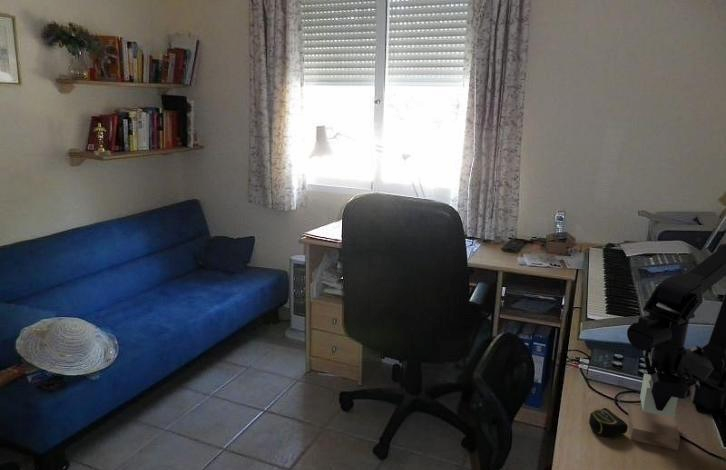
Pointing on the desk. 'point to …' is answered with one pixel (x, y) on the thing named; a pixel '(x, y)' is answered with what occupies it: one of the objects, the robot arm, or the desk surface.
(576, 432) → the desk surface
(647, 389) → the sage block
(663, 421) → the tan square block
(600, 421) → the tape measure
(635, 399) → the desk surface
